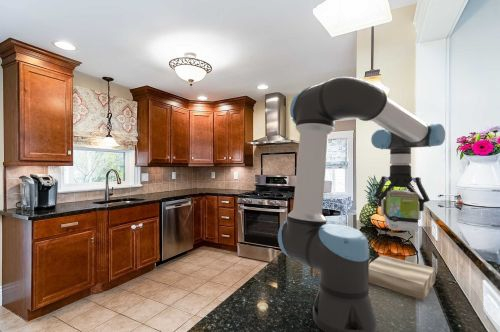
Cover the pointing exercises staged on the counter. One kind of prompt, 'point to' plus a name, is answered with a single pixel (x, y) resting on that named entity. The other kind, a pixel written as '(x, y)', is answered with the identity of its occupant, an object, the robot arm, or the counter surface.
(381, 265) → the birch base block
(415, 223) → the tea box
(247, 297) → the counter surface
